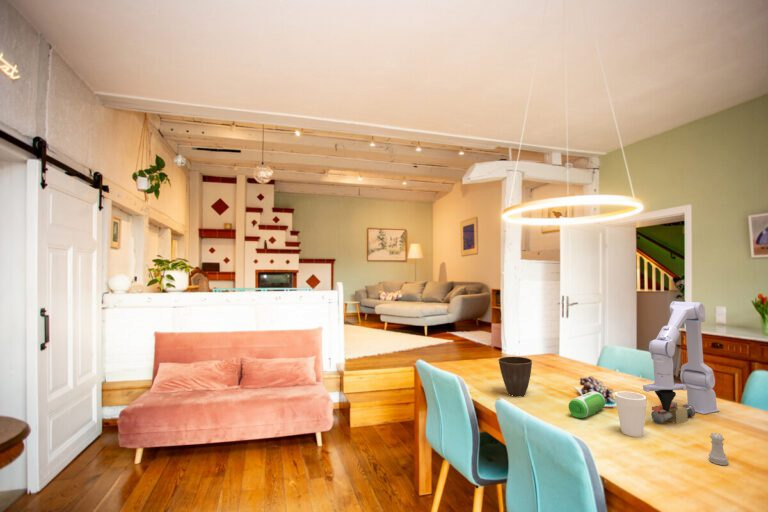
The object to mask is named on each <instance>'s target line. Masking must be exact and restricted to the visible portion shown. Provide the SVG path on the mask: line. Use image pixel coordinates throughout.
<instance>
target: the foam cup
mask: <svg viewBox="0 0 768 512" xmlns="http://www.w3.org/2000/svg"><path fill="white" fill-rule="evenodd" d="M647 400H648V399H647V397H646V395H644V394H642V393H638V392H636V391H635V392H633V391H624V390H623V391H622V390H621V391H620V390H619V391H616V392H614V401H615V404H616V405H615V406H616V410H617V415H618V419H619V426H620V430H621V433H622V434H624V435H625V434H626V436H629V437H632V438H633V437H634V438H635V437H636V438H640V437H643V436H644V433H645V431H644V430H645V420H646V411H647V405H648V401H647Z"/></svg>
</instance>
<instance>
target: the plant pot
mask: <svg viewBox="0 0 768 512" xmlns="http://www.w3.org/2000/svg"><path fill="white" fill-rule="evenodd" d="M498 364H499V369H500V374H501V377H502V380H503V384H504V386H505V388H506V389H505V390H506V391H507V394H508V395H509V394H510V395H509V396H511V395H513V396H512V397H514V396H522V397H525V396H526V393H527V390H528V387H529V384H530V380H531V375H532V365H533V361H532V359H530V358H528V357H523V356H505V357H499V358H498ZM524 395H525V396H524Z"/></svg>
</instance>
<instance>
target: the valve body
mask: <svg viewBox="0 0 768 512" xmlns="http://www.w3.org/2000/svg"><path fill="white" fill-rule="evenodd" d="M660 405H661V404H660ZM660 405H658V406H660ZM650 414H651V418H652V420H653V421H654V422H655V423H657V424H663V423H664V422H665V421H668V422H670V421H671V423H673V422H674V423H673V424H676V423H677V424H681V422H682V423H686V422H688V421H689V420H688V419H689V418H692V417H694V416H695V415H696V412H695V410H694V408H693V407H692V406H691V405H688V403H687V404H683V405H682V406H681V405H678V407H671V408H670V410H669V411H668V412H667V411H665V410H662V411H658V412H657V411H653V410H652V412H651V413H650ZM688 417H689V418H688Z"/></svg>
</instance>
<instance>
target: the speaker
mask: <svg viewBox="0 0 768 512" xmlns="http://www.w3.org/2000/svg"><path fill="white" fill-rule="evenodd" d="M606 402H607V401H606V398H605V396H604V395H603V394H602V393H601V392H599V391H594V390H593V391H589V392H586V393H585V394H582V395H579V396H577V397H574V398H572V399H571V400H570V402H569V403H568V410H569V412H570V414H571V415H572V416H573V417H575V418H578V419H579V418H580V419H584V418H589V417H590V416H592V414H593V415H594V413H595V414H596V413H597V414H598V412H599V411H601V410H602V409H604V407H605V405H606V404H607V403H606Z"/></svg>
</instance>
